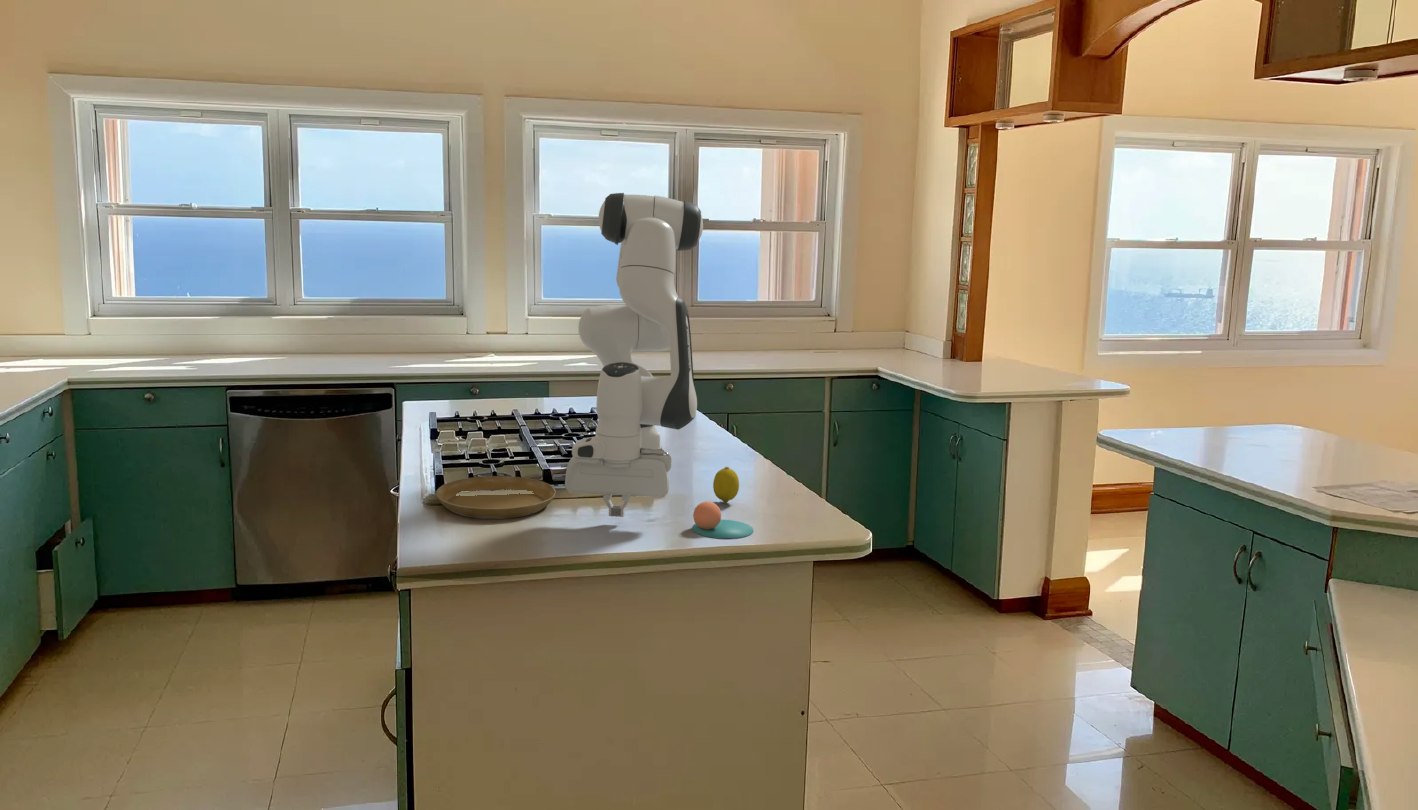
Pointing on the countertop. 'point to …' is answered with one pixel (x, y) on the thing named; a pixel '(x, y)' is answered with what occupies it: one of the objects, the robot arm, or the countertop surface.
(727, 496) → the lemon
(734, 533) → the disc
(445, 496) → the plant saucer
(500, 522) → the countertop surface
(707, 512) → the ball
